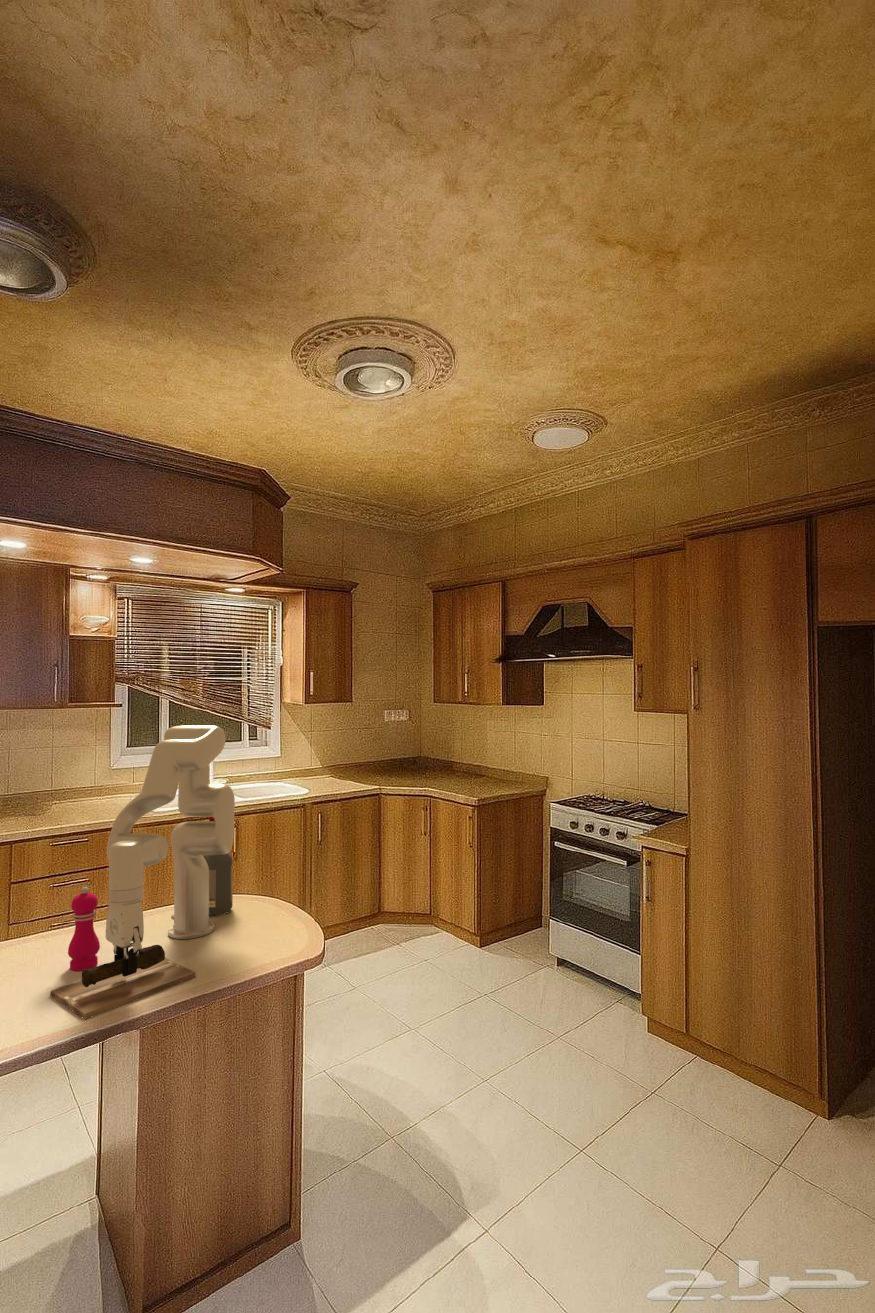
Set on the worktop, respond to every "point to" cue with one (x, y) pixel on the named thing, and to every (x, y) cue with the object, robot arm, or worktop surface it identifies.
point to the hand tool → (144, 960)
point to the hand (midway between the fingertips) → (125, 971)
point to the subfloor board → (121, 988)
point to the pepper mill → (84, 932)
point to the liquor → (220, 882)
